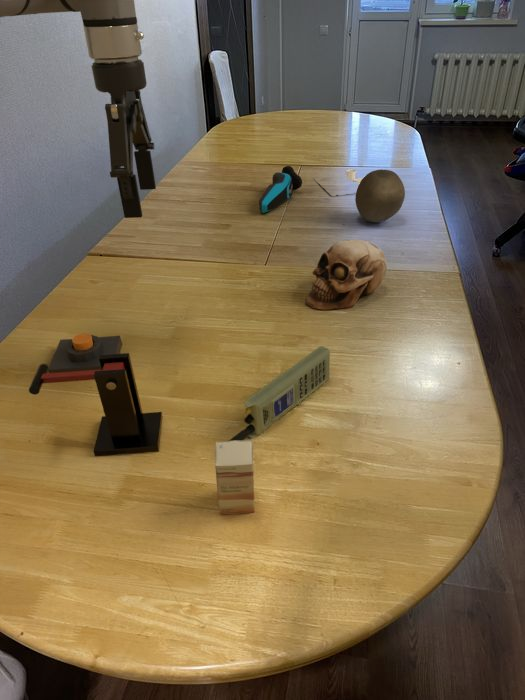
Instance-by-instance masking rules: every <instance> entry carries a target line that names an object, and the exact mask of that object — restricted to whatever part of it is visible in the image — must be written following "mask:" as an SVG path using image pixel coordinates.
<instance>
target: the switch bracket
mask: <svg viewBox="0 0 525 700" xmlns="http://www.w3.org/2000/svg"><path fill="white" fill-rule="evenodd" d="M99 362H100V365H101V369H103V367H104V364H105V363H117V362H123V363H124V368H125V369H119V370H106V371H95V373H94V378H95V380H94V381H95V386H96V389H97V392H98V396H99V399H100V402H101V406H102V410H103V414H104V415H102V416H101V419H100V423H99V427H98V431H97V433H96V438H95V442H94V447H93V449H92V451H93V456H94V457H107V456H118V455H128V454H142V453H154V452H159V451H160V443H161V434H162V427H163V426H162V425H163V412H162V411H153V412H143V409H142V405H141V400H140V395H139V391H138V386H137V383H136V377H135V374H134V369H133V364H132V360H131V356H130V353H129V352H123V353H120V354H108V355H100V356H99Z"/></svg>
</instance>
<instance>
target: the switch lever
mask: <svg viewBox="0 0 525 700" xmlns="http://www.w3.org/2000/svg"><path fill="white" fill-rule="evenodd" d="M119 369H125V368H124V363H123V362H117V363H105V364H104V367H103V369H102V370H89V371H75V372H62V373H49V372H48V370H49V365H48V364H46V363H41V364H39V366H38V368H37V369H36V372H35V374H34V377H33V379H32V381H31V384H30V386H29V388H28V392H29V393H30V394H31V395H35V396H36V395H38V394H39V393H40V392H41V389H42V386H43V384H53V383H54V384H55V383H69V382H82V381H95V378H94V373H95V371H106V370H119Z"/></svg>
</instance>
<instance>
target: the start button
mask: <svg viewBox="0 0 525 700" xmlns="http://www.w3.org/2000/svg"><path fill="white" fill-rule="evenodd" d="M91 335H92V334H89V333H79V334H77V335H75V336H73V337H72V338H71V339H72V342H73V346H74V349H75V350H77V351H82V350H87V349H89V348H91V347H92V346H93V341H92V337H91Z"/></svg>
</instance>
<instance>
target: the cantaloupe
mask: <svg viewBox="0 0 525 700" xmlns="http://www.w3.org/2000/svg"><path fill="white" fill-rule="evenodd" d="M405 198H406V190H405V185H404V182H403V181H402V179H401V178H400V175H398V174H397V173H396V172H395V171H392V170H390V169H382V168H381V169H376V170H372V171H370V172H369V173H367V174H366V176H365V177H364V178H363V179H362V180H361V182H360V184H359V185H358V188H357V191H356V194H355V199H354V201H355V207H356V209H357V211H358V214H359V215H360V216H361V218H362V219H363V220H365V221H367V222H370V223H382V222H384V221H387V220H389V219H390V218H392V217H393V216H395V215H396V214H397V213H398V212H399V211H400V210H401V208H402V206H403V204H404V201H405Z"/></svg>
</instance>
